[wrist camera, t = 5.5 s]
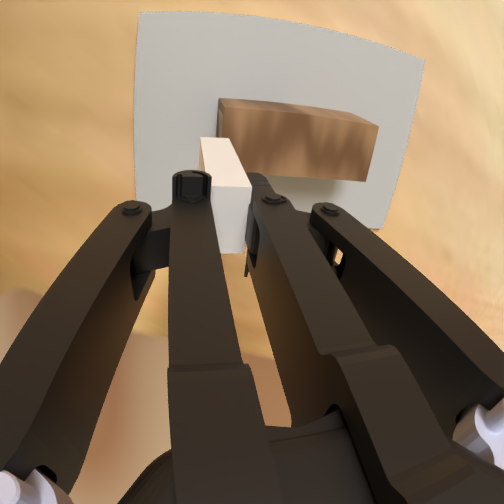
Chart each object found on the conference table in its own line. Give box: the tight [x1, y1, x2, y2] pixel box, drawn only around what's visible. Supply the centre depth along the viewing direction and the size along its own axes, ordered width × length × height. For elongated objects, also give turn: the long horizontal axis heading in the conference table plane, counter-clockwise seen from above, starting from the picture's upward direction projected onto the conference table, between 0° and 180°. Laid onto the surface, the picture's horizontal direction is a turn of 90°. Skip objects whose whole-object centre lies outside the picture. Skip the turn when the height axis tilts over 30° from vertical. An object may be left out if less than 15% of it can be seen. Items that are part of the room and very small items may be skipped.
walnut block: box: [215, 98, 379, 182], centre depth 23 cm, size 4×4×11 cm
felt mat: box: [134, 11, 425, 229], centre depth 25 cm, size 18×24×1 cm
